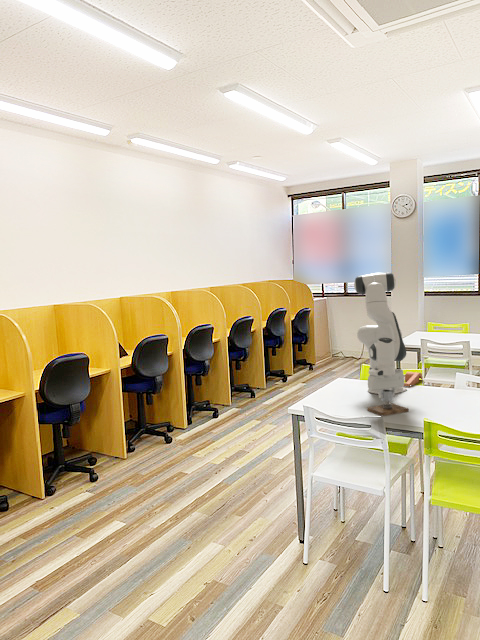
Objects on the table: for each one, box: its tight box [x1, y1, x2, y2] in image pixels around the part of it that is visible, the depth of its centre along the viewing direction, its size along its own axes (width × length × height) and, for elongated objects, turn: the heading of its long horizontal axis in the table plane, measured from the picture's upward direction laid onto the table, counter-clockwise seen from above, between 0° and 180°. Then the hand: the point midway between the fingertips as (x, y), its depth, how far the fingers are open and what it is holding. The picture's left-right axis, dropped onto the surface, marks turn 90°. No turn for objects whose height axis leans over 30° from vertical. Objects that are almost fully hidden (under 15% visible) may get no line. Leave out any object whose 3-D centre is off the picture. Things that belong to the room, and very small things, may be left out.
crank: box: [403, 371, 423, 387], centre depth 299 cm, size 20×8×8 cm, turn 138°
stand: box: [366, 401, 409, 417], centre depth 247 cm, size 16×12×8 cm
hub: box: [380, 389, 394, 403], centre depth 247 cm, size 6×6×5 cm
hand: (386, 397), depth 247 cm, fingers closed on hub, 6 cm apart
